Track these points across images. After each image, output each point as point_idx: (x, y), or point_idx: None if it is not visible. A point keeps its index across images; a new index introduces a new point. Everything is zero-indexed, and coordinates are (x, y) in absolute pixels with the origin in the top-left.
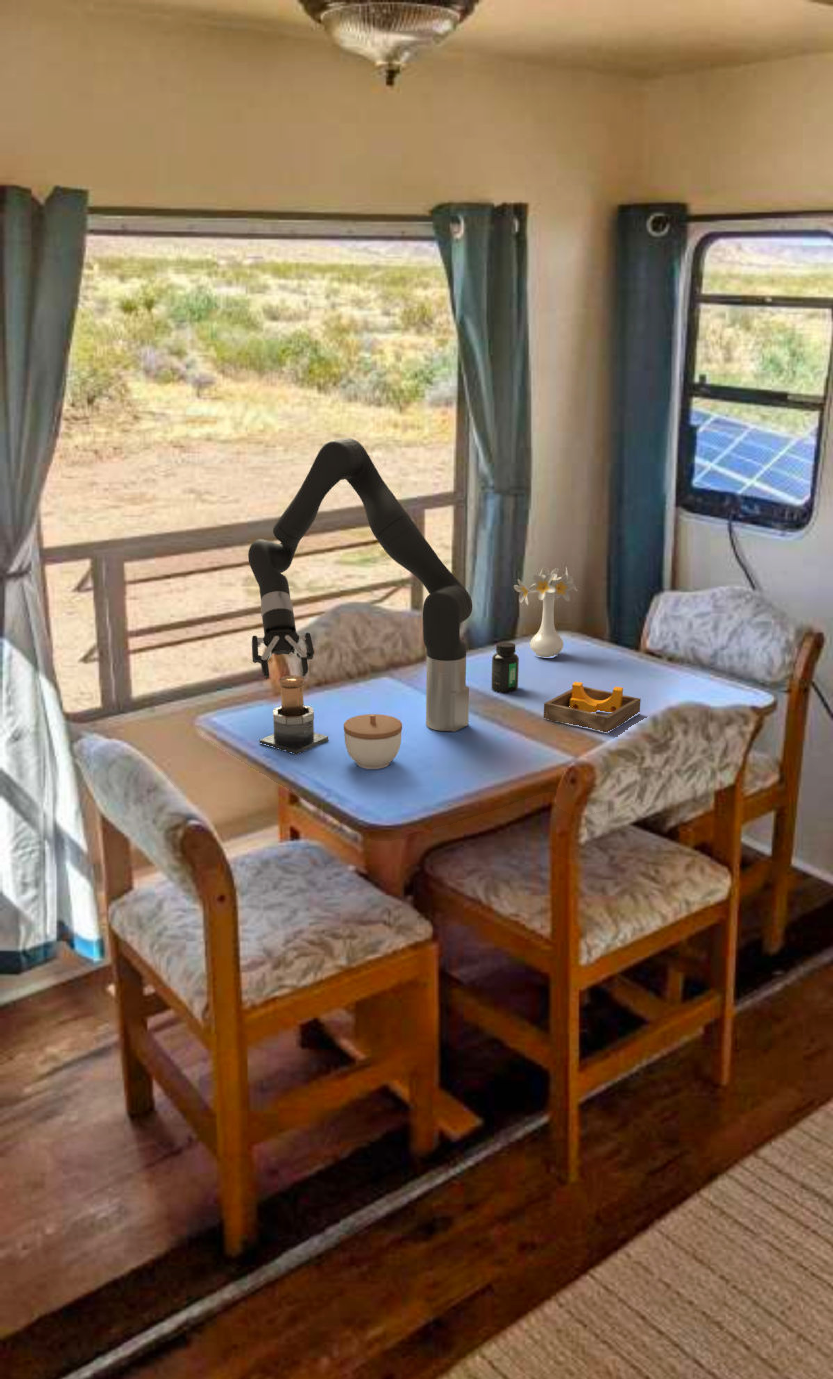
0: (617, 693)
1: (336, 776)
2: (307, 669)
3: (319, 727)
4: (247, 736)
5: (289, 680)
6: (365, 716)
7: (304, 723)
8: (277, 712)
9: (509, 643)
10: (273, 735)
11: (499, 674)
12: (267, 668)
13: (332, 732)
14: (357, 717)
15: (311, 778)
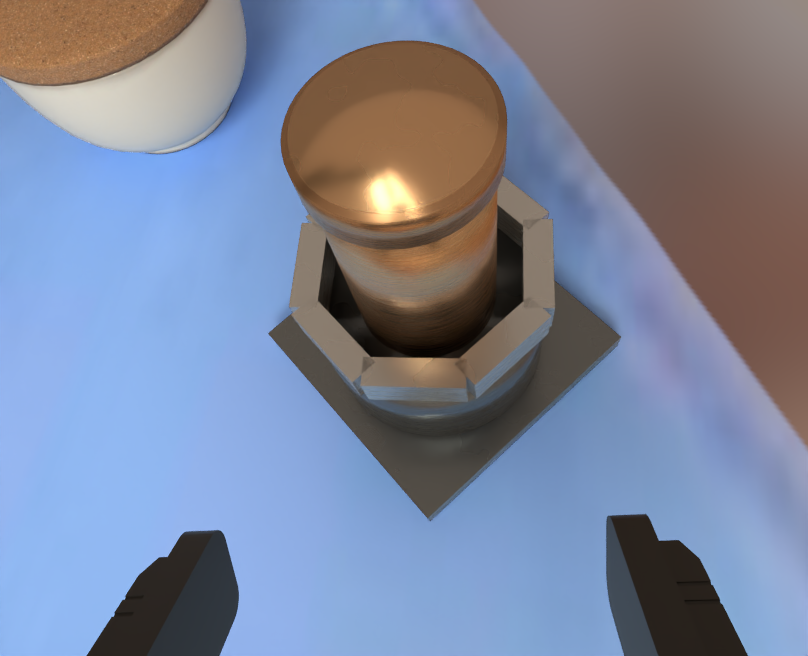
0: None
1: (328, 15)
2: (153, 570)
3: (274, 541)
4: (694, 471)
5: (415, 86)
6: (73, 27)
7: None
8: (525, 251)
9: None
10: (543, 388)
11: None
12: (641, 566)
13: (228, 449)
14: (115, 18)
15: (416, 5)
